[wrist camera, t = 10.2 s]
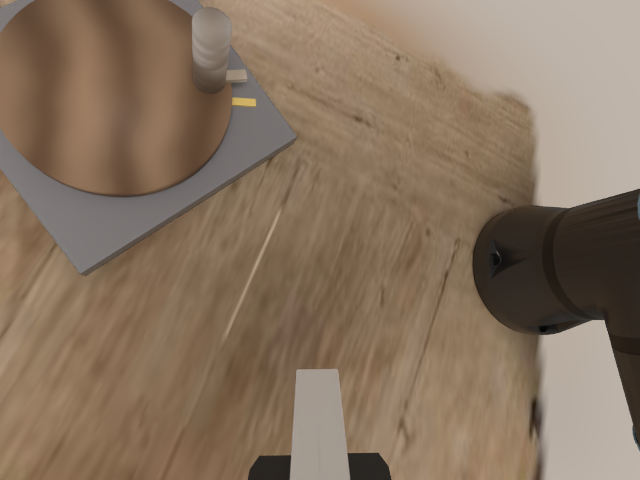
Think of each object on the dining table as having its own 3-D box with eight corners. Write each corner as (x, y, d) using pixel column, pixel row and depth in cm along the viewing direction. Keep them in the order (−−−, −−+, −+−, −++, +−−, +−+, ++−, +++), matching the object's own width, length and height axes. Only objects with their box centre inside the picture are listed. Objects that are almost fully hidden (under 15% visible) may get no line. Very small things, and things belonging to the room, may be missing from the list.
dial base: (159, -40, 45) (157, -57, 43) (293, 143, 46) (297, 135, 44) (-79, 57, 38) (-95, 43, 36) (85, 275, 38) (79, 273, 36)
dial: (11, 213, 35) (-52, 178, 26) (-20, -6, 38) (-88, -106, 29) (264, 179, 42) (282, 142, 33) (225, -6, 44) (232, -88, 35)
